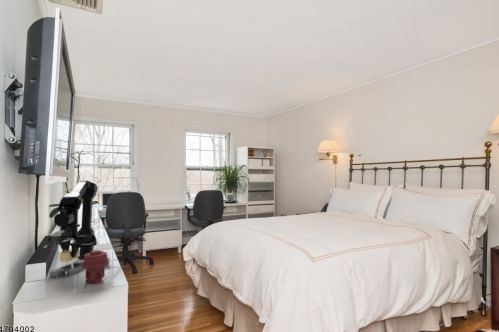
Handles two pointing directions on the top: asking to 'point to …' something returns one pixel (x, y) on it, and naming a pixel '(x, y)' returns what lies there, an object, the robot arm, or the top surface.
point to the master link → (68, 255)
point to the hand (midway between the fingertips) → (69, 257)
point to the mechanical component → (95, 265)
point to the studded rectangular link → (61, 270)
